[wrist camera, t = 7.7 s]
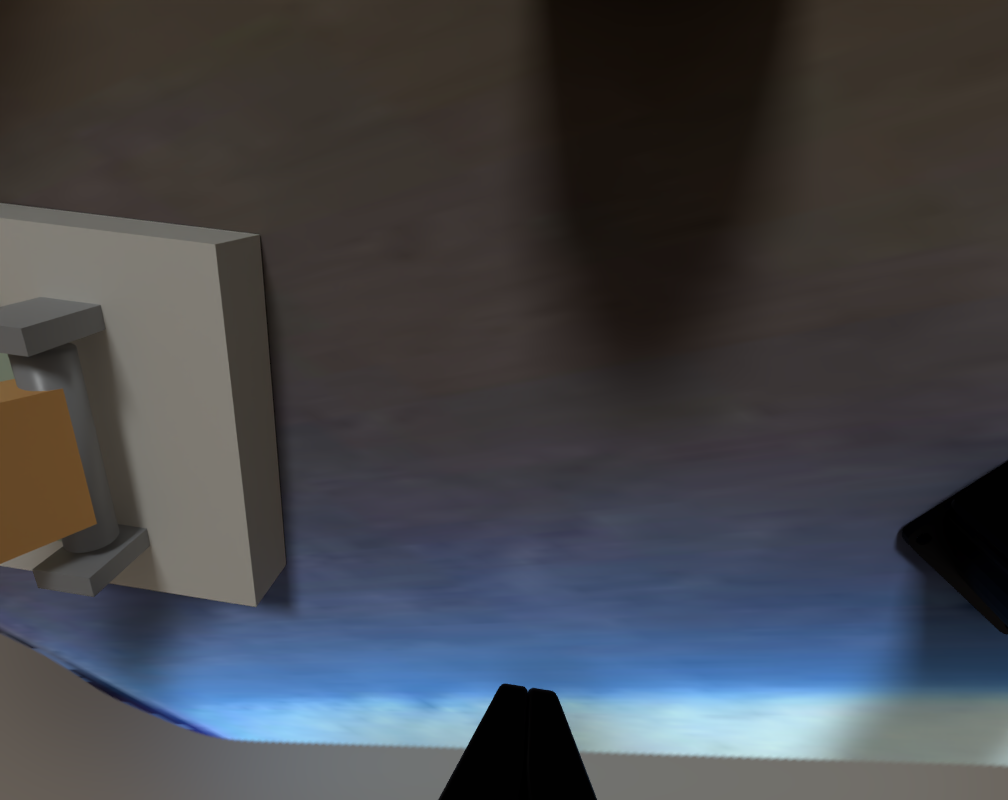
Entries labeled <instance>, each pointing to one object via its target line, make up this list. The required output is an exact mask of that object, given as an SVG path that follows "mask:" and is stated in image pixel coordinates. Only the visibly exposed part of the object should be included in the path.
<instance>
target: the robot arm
mask: <svg viewBox="0 0 1008 800" xmlns="http://www.w3.org/2000/svg"><path fill="white" fill-rule="evenodd" d="M923 533H924V534H923ZM920 534H923V535H922V536H921V537H918V536H919V535H920ZM902 537H903V538H904V540H905V541H906V542H907V543H908V544H909V545H910V546H911V547H912V548H913V549H914V550H915V551H916V552H917V553H918V554H919V555H920V556H921V557H922V558H923V559H924V560H925V561H926V562H927V563H928V564H929V565H930V566H932V567H933V568H934V569H935V570H936V571H937V572H938V573H939V574H940V575H941V576H942V577H943V578H944V579H945V580H946V581H947V582H948V583H949V584H951V585H952V586H953V587H954V588H955V589H956V590H957V591H958V592H959V593H960V594H961V595H962V596H963V597H964V598H965V599H966V600H967V601H968V602H969V603H971V604H972V605H973V606H974V607H975V608H976V609H977V610H978V611H979V612H980V613H981V614H982V615H983V616H984V617H985V618H986V619H987V620H988V621H989V622H991V623H992V624H993V625H994V626H995V627H996V628H997V629H998V630H999V631H1000V632H1002V633H1004V634H1008V462H1006V463H1004V464H1003V465H1001V466H1000V467H998V468H997V469H995V470H993V471H992V472H990V473H989V474H987V475H985V476H984V477H982V478H981V479H979V480H978V481H976V482H974V483H973V484H971V485H970V486H968V487H966V488H965V489H963V490H962V491H960V492H959V493H957V494H955V495H954V496H952V497H951V498H949V499H947V500H946V501H944V502H943V503H941V504H940V505H938V506H936V507H935V508H933V509H932V510H930V511H929V512H927V513H925V514H924V515H922V516H921V517H919V518H917V519H916V520H914V521H913V522H911V523H910V524H908V525H907V526H906V527H905V528H904V530H903V532H902ZM917 537H918V538H917ZM439 800H597V798H596V795H595V793H594V790H593V788H592V785H591V782H590V780H589V777H588V775H587V772H586V769H585V767H584V764H583V761H582V759H581V756H580V754H579V751H578V748H577V746H576V743H575V740H574V738H573V735H572V733H571V730H570V727H569V725H568V722H567V720H566V717H565V714H564V712H563V709H562V706H561V704H560V701H559V699H558V697H557V695H556V693H555V692H553V691H550V690H543V689H537V688H531V689H530V690H529V691H527V689H526V688H525V687H523V686H518V685H511V684H502V685H501V686H500V687H499V689H498V690H497V692H496V694H495V696H494V698H493V700H492V701H491V703H490V705H489V707H488V709H487V711H486V713H485V714H484V716H483V718H482V720H481V722H480V724H479V726H478V727H477V729H476V731H475V733H474V735H473V737H472V738H471V740H470V742H469V744H468V746H467V748H466V750H465V751H464V753H463V755H462V757H461V759H460V761H459V763H458V764H457V766H456V768H455V770H454V772H453V774H452V775H451V777H450V779H449V781H448V783H447V785H446V787H445V788H444V791H443V792H442V794H441V796H440V798H439Z"/></svg>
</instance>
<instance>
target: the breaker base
mask: <svg viewBox="0 0 1008 800" xmlns="http://www.w3.org/2000/svg"><path fill="white" fill-rule="evenodd" d="M66 343H72V344H74V345H76V347H77V351H78V355H79V360H80V364H81V368H82V373H83V377H84V381H85V385H86V390H87V394H88V398H89V403H90V407H91V411H92V415H93V420H94V424H95V428H96V433H97V437H98V441H99V446H100V450H101V454H102V458H103V463H104V467H105V471H106V476H107V480H108V484H109V489H110V493H111V497H112V501H113V506H114V510H115V514H116V519H117V523H118V527H119V535H118V537H117V538H116V539H115V540H114V541H113V542H112V543H110V544H109V545H107V546H105V547H103V548H100V549H98V550H94V551H90V552H85V553H73V552H69V551H67V550H65V549H64V547H63V544H62V540H61V539H59V540H57V541H55V542H52V543H50V544H47V545H45V546H42V547H40V548H38V549H35V550H33V551H30V552H28V553H26V554H23V555H21V556H18V557H16V558H14V559H11V560H9V561H6V562H4V563H2V564H0V566H5V567H12V568H18V569H24V570H30V571H33V573H34V576H35V579H36V582H37V586H38V588H43V589H49V590H55V591H61V592H67V593H73V594H79V595H85V596H92V597H95V596H96V595H97V594H98V593H99V592H100V591H101V590H102V589H103V588H104V587H105V586H107V585H108V584H109V583H111V584H117V585H123V586H129V587H135V588H142V589H148V590H154V591H160V592H166V593H173V594H179V595H185V596H191V597H197V598H203V599H210V600H216V601H222V602H228V603H234V604H241V605H247V606H253V607H257V605H258V604H259V602H260V601H261V600H262V598H263V597H264V595H265V594H266V593H267V591H268V590H269V588H270V587H271V585H272V584H273V583H274V581H275V580H276V578H277V577H278V575H279V574H280V573H281V571H282V570H283V568H284V567H285V565H286V556H285V543H284V531H283V518H282V506H281V494H280V481H279V469H278V456H277V444H276V431H275V419H274V406H273V394H272V381H271V369H270V357H269V344H268V332H267V319H266V307H265V294H264V282H263V269H262V257H261V245H260V235H259V234H251V233H243V232H235V231H227V230H218V229H210V228H202V227H194V226H185V225H177V224H169V223H161V222H153V221H144V220H136V219H128V218H120V217H112V216H103V215H95V214H87V213H79V212H70V211H62V210H54V209H46V208H38V207H29V206H21V205H13V204H5V203H0V382H1V381H6V380H11V379H15V378H14V374H13V371H12V367H11V364H10V360H9V357H8V354H12V355H19V356H27V357H29V356H32V355H35V354H38V353H41V352H44V351H46V350H49V349H52V348H55V347H58V346H60V345H63V344H66Z"/></svg>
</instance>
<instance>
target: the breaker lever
mask: <svg viewBox="0 0 1008 800" xmlns="http://www.w3.org/2000/svg"><path fill="white" fill-rule="evenodd" d="M8 357H9V360H10V364H11V367H12V371H13V374H14V378H15V379H11V380H6V381H1V382H0V564H2V563H4V562H6V561H9V560H11V559H14V558H16V557H18V556H21V555H23V554H26V553H28V552H30V551H33V550H35V549H38V548H40V547H42V546H45V545H47V544H50V543H52V542H55V541H57V540H59V539H61V540H62V544H63V547H64V549H65V550H67V551H69V552H73V553H85V552H90V551H94V550H98V549H100V548H103V547H105V546H107V545H109V544H110V543H112V542H113V541H114V540H115V539H116V538H117V537H118V535H119V527H118V523H117V519H116V514H115V510H114V506H113V501H112V497H111V493H110V489H109V484H108V480H107V476H106V471H105V467H104V463H103V458H102V454H101V450H100V446H99V441H98V437H97V433H96V428H95V424H94V420H93V415H92V411H91V407H90V403H89V398H88V394H87V390H86V385H85V381H84V377H83V373H82V368H81V364H80V360H79V355H78V351H77V347H76V345H74V344H72V343H66V344H63V345H60V346H58V347H55V348H52V349H49V350H46V351H44V352H41V353H38V354H35V355H32V356H29V357H27V356H19V355H12V354H8Z"/></svg>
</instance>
